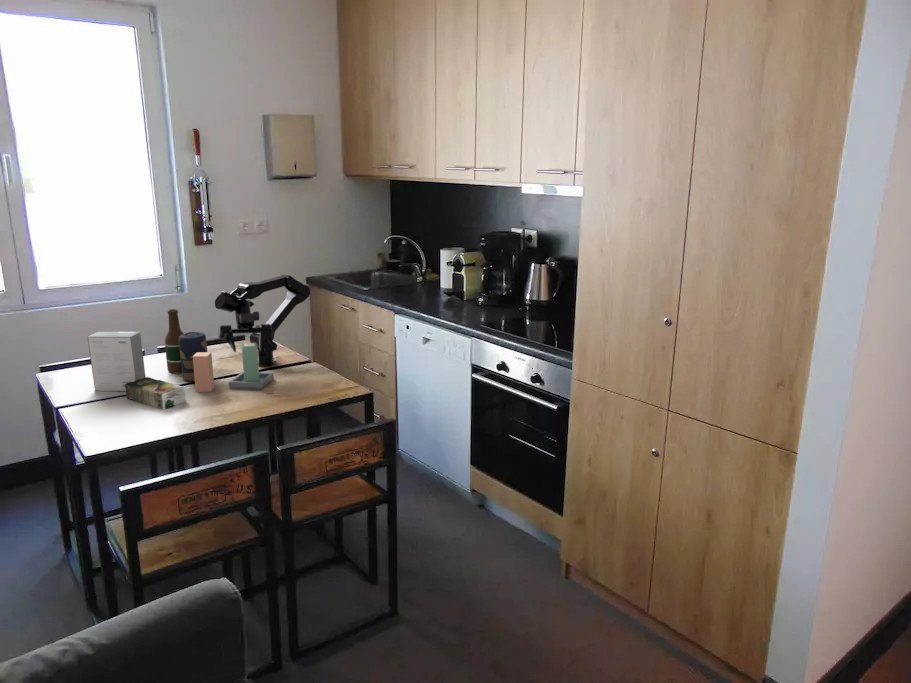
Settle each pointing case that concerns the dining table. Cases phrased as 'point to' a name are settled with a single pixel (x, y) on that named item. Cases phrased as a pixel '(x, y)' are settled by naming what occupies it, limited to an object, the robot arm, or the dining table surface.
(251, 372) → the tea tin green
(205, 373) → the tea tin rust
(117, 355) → the hard drive box
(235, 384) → the tray
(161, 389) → the juice carton
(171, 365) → the beer bottle
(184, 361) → the canister
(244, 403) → the dining table surface
